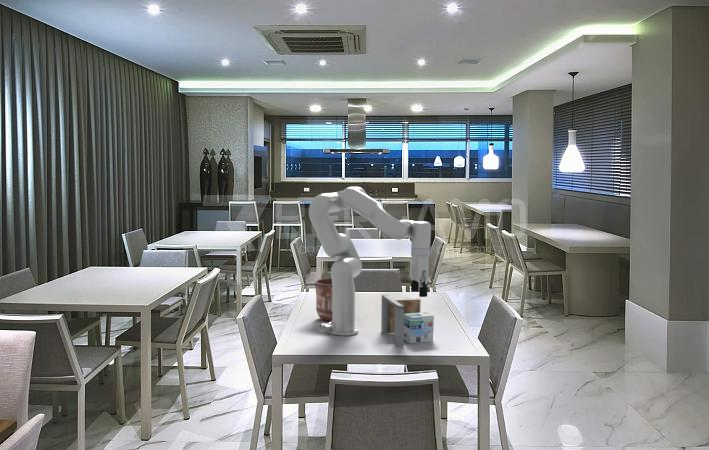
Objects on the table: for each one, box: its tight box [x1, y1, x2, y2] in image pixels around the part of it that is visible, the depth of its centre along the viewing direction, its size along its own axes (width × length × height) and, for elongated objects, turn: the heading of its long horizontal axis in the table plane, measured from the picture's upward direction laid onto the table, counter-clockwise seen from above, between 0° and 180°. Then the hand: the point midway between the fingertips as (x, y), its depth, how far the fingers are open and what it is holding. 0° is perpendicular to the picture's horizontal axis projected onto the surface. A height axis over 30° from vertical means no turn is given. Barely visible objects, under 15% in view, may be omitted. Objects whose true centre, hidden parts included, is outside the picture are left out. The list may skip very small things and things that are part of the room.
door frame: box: [380, 294, 404, 348], centre depth 249 cm, size 2×24×16 cm, turn 14°
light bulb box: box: [404, 311, 435, 344], centre depth 248 cm, size 11×7×11 cm, turn 111°
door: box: [386, 298, 421, 334], centre depth 258 cm, size 14×1×14 cm, turn 99°
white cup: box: [403, 296, 422, 313], centre depth 282 cm, size 8×8×10 cm
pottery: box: [314, 277, 333, 323], centre depth 281 cm, size 18×18×18 cm
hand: (418, 294), depth 246 cm, fingers open, 9 cm apart
